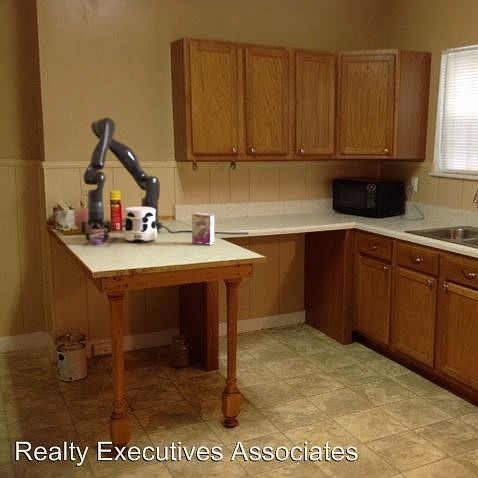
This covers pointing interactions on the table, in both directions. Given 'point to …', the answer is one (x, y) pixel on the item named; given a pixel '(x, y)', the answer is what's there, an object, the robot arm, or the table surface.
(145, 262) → the table surface
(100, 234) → the dish top
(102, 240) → the dish bottom
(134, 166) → the robot arm
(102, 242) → the brown board with circles
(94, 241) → the purple stepped cylinder
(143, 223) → the white black spotted canister
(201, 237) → the candy bar box
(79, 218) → the pink piggy bank
